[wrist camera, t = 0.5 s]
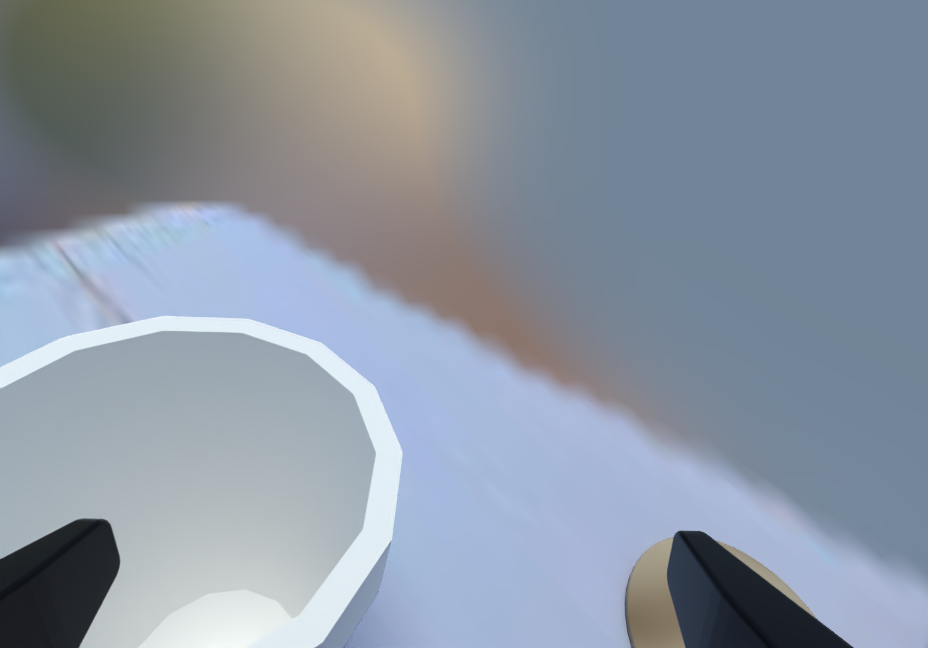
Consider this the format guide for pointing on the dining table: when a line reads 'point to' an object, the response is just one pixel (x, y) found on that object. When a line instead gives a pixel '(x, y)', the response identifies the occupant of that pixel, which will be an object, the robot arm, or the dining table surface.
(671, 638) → the coaster
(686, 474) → the dining table surface
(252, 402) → the foam cup
